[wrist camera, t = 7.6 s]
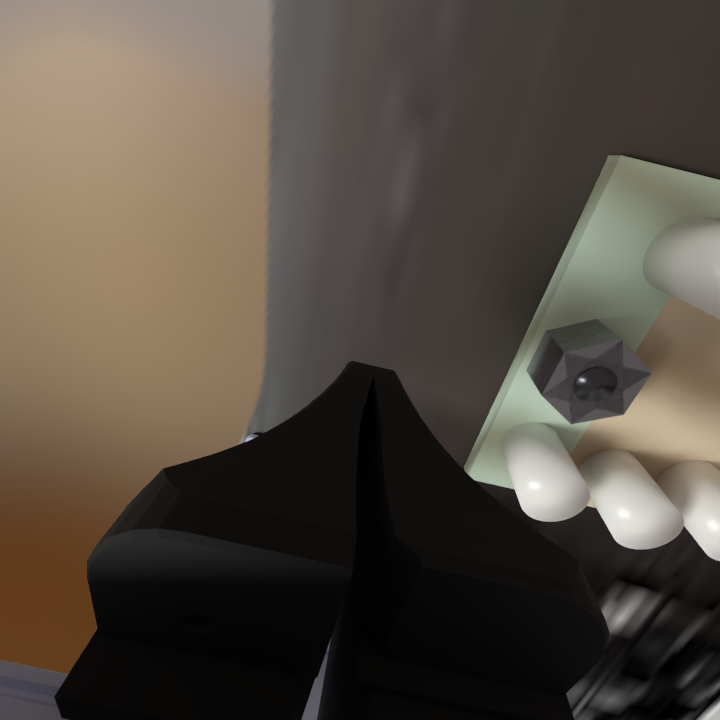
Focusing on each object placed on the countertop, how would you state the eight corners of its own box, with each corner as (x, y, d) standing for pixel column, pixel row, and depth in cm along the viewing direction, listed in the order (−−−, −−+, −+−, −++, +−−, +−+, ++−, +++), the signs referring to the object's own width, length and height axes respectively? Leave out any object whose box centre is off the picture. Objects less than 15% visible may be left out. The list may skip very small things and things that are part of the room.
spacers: (705, 514, 23) (761, 577, 20) (488, 465, 23) (505, 520, 19) (933, 274, 16) (1083, 305, 13) (623, 197, 16) (689, 208, 12)
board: (672, 514, 25) (682, 527, 24) (464, 467, 24) (466, 478, 24) (921, 233, 16) (951, 237, 16) (608, 155, 16) (621, 155, 15)
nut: (588, 405, 21) (611, 434, 18) (517, 388, 20) (531, 415, 18) (636, 328, 18) (668, 351, 16) (556, 309, 18) (577, 329, 16)
